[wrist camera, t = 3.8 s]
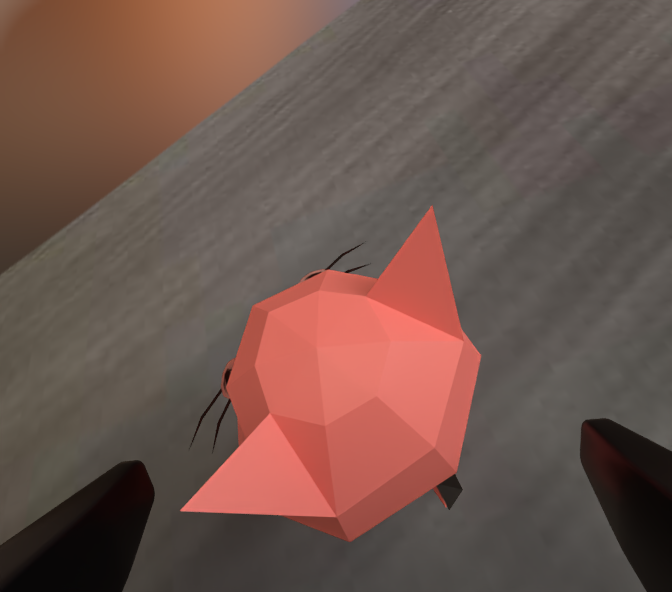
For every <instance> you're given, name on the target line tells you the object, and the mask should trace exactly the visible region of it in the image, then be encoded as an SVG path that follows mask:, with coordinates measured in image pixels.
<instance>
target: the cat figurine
mask: <svg viewBox="0 0 672 592" xmlns="http://www.w3.org/2000/svg"><path fill="white" fill-rule="evenodd" d="M363 244H364V243H363ZM361 245H362V244H361ZM359 246H360V245H359ZM359 246H357V247H359ZM357 247H355V248H357ZM355 248H353V249H351V250H349V251H347V252H345V253H343V254H341V255H340V256H339V257H338V258H337V259H336V260H335V261H334V262H333V263H332V264H331V265H330V266H329V267H327V268H326V269H325V270H324V269H321V270H317V271H313V272H310V273H309V274H307V275H306V276H305V277H303V278H302V279H301V281H300V283H299V284H297V285H295V286H293V287H291V288H289V289H286V290H284V291H282V292H280V293H278V294H276V295H274V296H272V297H270V298H268V299H266V300H264V301H262V302H260V303H257V304H255V305H253V307H252V310H251V313H250V316H249V319H248V322H247V325H246V328H245V331H244V334H243V337H242V340H241V343H240V346H239V349H238V352H237V355H236V358H234V359H232V360H231V361H229V362H228V363H227V365H226V368H225V370H224V372H223V375H222V382H221V389H220V391H219V392H218V394H217V395H216V397H215V398H214V399H213V401H212V402H211V404H210V405H209V406H208V408H207V409H206V411H205V412H204V413H203V415H202V416H201V418H200V421H199V424H198V426H197V429H196V432H195V435H196V433H197V431H198V428H199V426H200V424H201V421H202V419H203V418H204V416H205V415H206V413H207V412H208V411H209V409H210V408H211V406H212V405H213V403H214V402H215V401H216V399H217V398H218V396H219V395H220V394H221V392H222V393H223V396H224V397H226V398H228V399H229V400H228V403H227V405H226V407H225V409H224V411H223V413H222V415H221V417H220V419H219V421H218V423H217V429H216V435H215V440H214V445H215V442H216V438H217V434H218V430H219V426H220V423H221V421H222V419H223V417H224V415H225V412H226V410H227V408H228V406H229V404H230V402H232V405H233V407H234V410H235V412H236V415H237V418H238V438H239V447H238V448H237V449H236V451H235V452H234V453H233V454H232V455H231V456H230V457H229V458H228V459H227V460H226V461H225V462H224V464H223V465H222V466H221V467H220V468H219V469H218V470H217V471H216V472H215V473H214V474H213V475H212V477H211V478H210V479H209V480H208V481H207V482H206V483H205V484H204V485H203V486H202V487H201V488H200V490H199V491H198V492H197V493H196V494H195V495H194V496H193V497H192V498H191V499H190V500H189V501H188V503H187V504H186V505H185V506H184V507H183V508H182V509H181V510H180V511H188V512H214V513H240V514H265V515H281V516H283V517H286V518H289V519H291V520H294V521H296V522H299V523H301V524H304V525H307V526H309V527H312V528H314V529H317V530H319V531H322V532H325V533H327V534H330V535H332V536H335V537H338V538H340V539H343V540H345V541H348V542H351V541H353V540H354V539H356V538H357V537H359V536H360V535H362V534H363V533H365V532H366V531H368V530H369V529H371V528H373V527H374V526H376V525H377V524H379V523H380V522H382V521H383V520H385V519H386V518H388V517H389V516H391V515H392V514H394V513H395V512H397V511H399V510H400V509H402V508H403V507H405V506H406V505H408V504H409V503H411V502H412V501H414V500H415V499H417V498H418V497H420V496H422V495H423V494H425V493H426V492H428V491H429V490H431V489H432V488H433V490H434V491H435V493H436V494H437V495H438V497H439V498H440V500H441V501H442V503H443V504H444V506H445V507H448V509H449V510H450V508H451V507H452V505H453V504H454V502H455V501H456V499H457V498H458V496H459V495H460V493H461V492H462V490H463V489H462V487H461V485H460V483H459V481H458V479H457V477H456V475H455V473H457V468H458V464H459V459H460V454H461V449H462V445H463V440H464V435H465V430H466V426H467V421H468V416H469V411H470V407H471V402H472V397H473V392H474V387H475V383H476V378H477V373H478V368H479V364H480V359H481V355H480V353H479V352H478V351H477V349H476V348H475V347H474V345H473V344H472V343H471V341H470V340H469V339H468V337H467V336H466V335H465V333H464V332H463V331H462V329H461V326H460V322H459V317H458V313H457V309H456V305H455V300H454V296H453V292H452V287H451V283H450V279H449V274H448V270H447V266H446V261H445V257H444V253H443V249H442V244H441V240H440V236H439V231H438V227H437V223H436V218H435V214H434V210H433V206H431V207H430V209H429V210H428V212H427V213H426V214H425V216H424V217H423V218H422V220H421V221H420V223H419V224H418V225H417V227H416V228H415V229H414V231H413V232H412V233H411V235H410V236H409V238H408V239H407V240H406V242H405V243H404V244H403V246H402V247H401V249H400V250H399V251H398V253H397V254H396V255H395V257H394V258H393V260H392V261H391V262H390V264H389V265H388V266H387V268H386V269H385V271H384V272H383V273H382V275H381V276H380V277H379V279H376V278H370V277H365V276H360V275H355V274H349V272H352V271H354V270H357V269H359V268H362V267H364V266H366V265H364V266H361V267H357V268H354V269H351V270H347V271H346V272H339V271H333V270H329V269H330V268H331V267H332V266H333V265H334V264H335V263H336V262H337V261H338V260H339V259H340V258H341V257H342V256H344V255H345V254H347V253H349V252H350V251H352V250H354V249H355ZM368 265H369V264H368ZM195 435H194V437H193V440H194V438H195ZM193 440H192V442H193ZM191 445H192V443H191ZM190 447H191V446H190ZM189 449H190V448H189ZM213 449H214V446H213ZM212 453H213V452H212Z"/></svg>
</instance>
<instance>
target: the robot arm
mask: <svg viewBox="0 0 672 592" xmlns="http://www.w3.org/2000/svg"><path fill="white" fill-rule="evenodd" d="M580 459H581V463H582V466H583V468H584V470H585V473H586V475H587V477H588V479H589V481H590V483H591V485H592V487H593V490H594V492H595V494H596V496H597V498H598V500H599V502H600V505H601V507H602V509H603V511H604V513H605V515H606V517H607V519H608V522H609V524H610V526H611V528H612V530H613V532H614V534H615V536H616V538H617V540H618V542H619V544H620V546H621V548H622V550H623V552H624V554H625V556H626V557H627V559H628V561H629V563H630V564H631V566H632V568H633V569H634V571H635V573H636V574H637V576H638V578H639V580H640V581H641V583H642V585H643V586H644V588H645V590H646V591H647V592H672V451H670V450H668V449H666V448H664V447H662V446H660V445H658V444H656V443H654V442H652V441H650V440H648V439H647V438H645V437H643V436H641V435H639V434H637V433H635V432H633V431H631V430H629V429H627V428H625V427H623V426H621V425H620V424H618V423H616V422H614V421H612V420H610V419H606V418H600V419H589V420H585V421H584V422H583V423H582V427H581V444H580ZM154 496H155V492H154V487H153V484H152V482H151V480H150V477H149V475H148V472H147V470H146V468H145V465H144V464H143V463H142V462H141V461H139V460H134V461H124V462H121V463H119V464H117V465H116V466H114V467H113V468H111V469H110V470H109V471H107V472H106V473H104V474H103V475H101V476H100V477H98V478H97V479H96V480H94V481H93V482H91V483H90V484H88V485H87V486H85V487H84V488H83V489H81V490H80V491H78V492H77V493H75V494H74V495H72V496H71V497H70V498H68V499H67V500H65V501H64V502H62V503H61V504H59V505H58V506H57V507H55V508H54V509H52V510H51V511H49V512H48V513H46V514H45V515H44V516H42V517H41V518H39V519H38V520H36V521H35V522H33V523H32V524H31V525H29V526H28V527H26V528H25V529H23V530H22V531H20V532H19V533H18V534H16V535H15V536H13V537H12V538H10V539H9V540H7V541H6V542H5V543H3V544H2V545H0V592H122V591H123V588H124V586H125V584H126V581H127V579H128V576H129V573H130V571H131V568H132V565H133V562H134V559H135V556H136V553H137V550H138V547H139V544H140V541H141V538H142V535H143V532H144V529H145V526H146V523H147V520H148V517H149V514H150V511H151V508H152V505H153V502H154Z"/></svg>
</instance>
